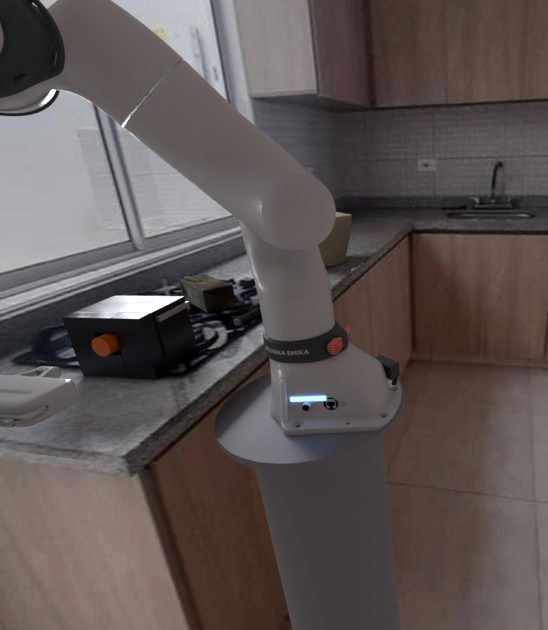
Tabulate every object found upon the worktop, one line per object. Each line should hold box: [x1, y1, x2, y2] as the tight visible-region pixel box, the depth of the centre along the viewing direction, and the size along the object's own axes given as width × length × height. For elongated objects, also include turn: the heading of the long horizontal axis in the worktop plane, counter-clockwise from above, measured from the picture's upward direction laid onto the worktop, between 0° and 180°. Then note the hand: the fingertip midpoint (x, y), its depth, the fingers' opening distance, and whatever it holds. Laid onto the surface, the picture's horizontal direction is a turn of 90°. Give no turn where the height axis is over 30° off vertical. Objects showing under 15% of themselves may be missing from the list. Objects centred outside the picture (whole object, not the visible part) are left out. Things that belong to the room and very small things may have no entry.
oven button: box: [92, 333, 120, 356], centre depth 80 cm, size 4×3×4 cm
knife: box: [232, 307, 262, 326], centre depth 111 cm, size 19×2×5 cm
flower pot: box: [318, 211, 353, 268], centre depth 152 cm, size 19×19×17 cm
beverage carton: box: [178, 273, 237, 314], centre depth 119 cm, size 8×19×7 cm, turn 44°
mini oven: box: [61, 295, 199, 380], centre depth 85 cm, size 17×12×12 cm
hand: (53, 370), depth 70 cm, fingers closed
